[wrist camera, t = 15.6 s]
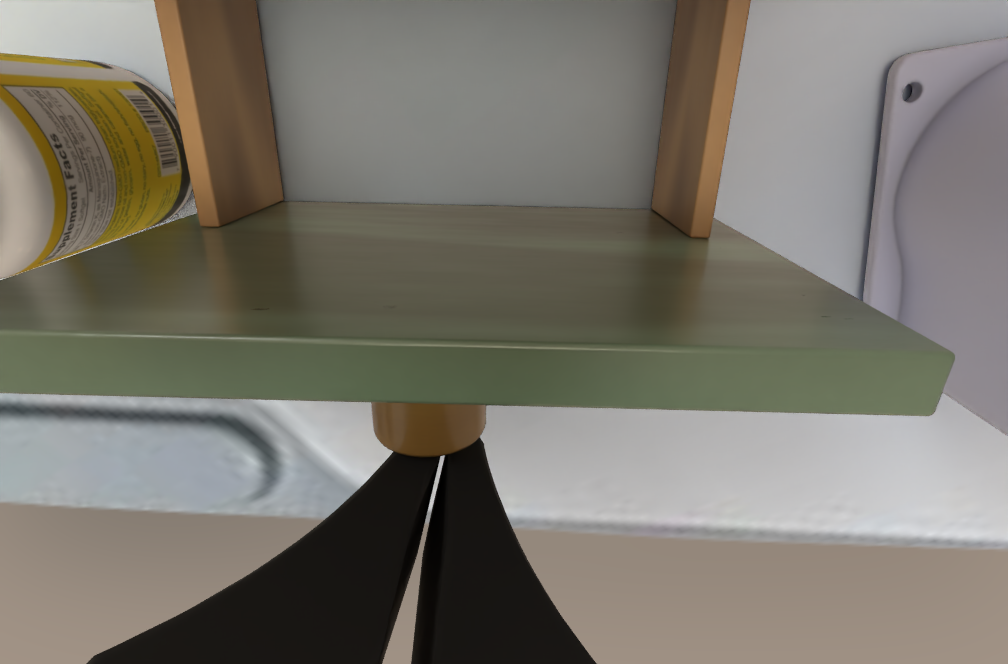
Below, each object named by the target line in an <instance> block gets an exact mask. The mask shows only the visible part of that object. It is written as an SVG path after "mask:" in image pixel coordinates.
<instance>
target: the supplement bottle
mask: <svg viewBox="0 0 1008 664" xmlns="http://www.w3.org/2000/svg"><path fill="white" fill-rule="evenodd" d="M191 191H192V183H191V178H190V173H189V169H188V164H187V159H186V154H185V149H184V144H183V139H182V134H181V129H180V124H179V120H178V115H177V110H176V109H175V108H174V106H173V105H172V104H171V103H170V102H169V100H168V99H167V98H166V97H165V96H164V95H163V94H162V93H161V92H160V91H159V90H157V89H156V88H155V87H154V86H153V85H151V84H150V83H149V82H147V81H146V80H144V79H142V78H141V77H139V76H137V75H135V74H134V73H132V72H129V71H127V70H125V69H122V68H119V67H117V66H113V65H110V64H105V63H100V62H93V61H86V60H72V59H61V58H50V57H38V56H28V55H16V54H4V53H0V279H2V278H6V277H10V276H13V275H16V274H19V273H22V272H25V271H28V270H31V269H33V268H36V267H39V266H42V265H44V264H47V263H50V262H53V261H55V260H58V259H61V258H64V257H67V256H69V255H72V254H75V253H78V252H81V251H84V250H86V249H89V248H92V247H95V246H98V245H101V244H104V243H106V242H109V241H112V240H115V239H118V238H120V237H123V236H126V235H129V234H132V233H135V232H137V231H140V230H143V229H145V228H148V227H151V226H154V225H157V224H159V223H161V222H164V221H165V220H167V219H169V218H171V217H172V216H173V215H175V214H176V213H177V212H178V211H179V210H180V209H181V208H182V207H183V206H184V204H185V203H186V201H187V200H188V198H189V196H190V194H191Z"/></svg>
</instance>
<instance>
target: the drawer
mask: <svg viewBox="0 0 1008 664" xmlns="http://www.w3.org/2000/svg"><path fill="white" fill-rule="evenodd" d="M154 2H155V7H156V12H157V17H158V22H159V27H160V32H161V36H162V41H163V46H164V51H165V56H166V61H167V66H168V71H169V76H170V80H171V85H172V90H173V95H174V100H175V105H176V110H177V115H178V120H179V124H180V129H181V134H182V139H183V144H184V149H185V154H186V159H187V164H188V169H189V173H190V178H191V183H192V188H193V193H194V198H195V203H196V208H197V213H196V214H193V215H190V216H187V217H184V218H181V219H179V220H176V221H173V222H170V223H167V224H164V225H161V226H158V227H155V228H152V229H149V230H146V231H143V232H140V233H138V234H135V235H132V236H129V237H126V238H123V239H120V240H117V241H114V242H111V243H108V244H105V245H102V246H99V247H97V248H94V249H91V250H88V251H85V252H82V253H79V254H76V255H73V256H70V257H67V258H64V259H61V260H59V261H56V262H53V263H50V264H47V265H44V266H41V267H38V268H35V269H32V270H29V271H26V272H23V273H20V274H18V275H15V276H12V277H9V278H6V279H3V280H0V393H19V394H60V395H100V396H140V397H180V398H221V399H261V400H301V401H341V402H371V404H372V415H373V426H374V432H375V435H376V437H377V438H378V440H379V441H380V442H381V443H382V444H383V445H384V446H385V447H387V448H388V449H390V450H392V451H394V452H397V453H399V454H403V455H407V456H413V457H436V456H443V455H448V454H451V453H455V452H457V451H460V450H462V449H464V448H466V447H468V446H470V445H471V444H473V443H474V442H475V441H476V440H477V439H478V438H479V437H480V435H481V434H482V432H483V430H484V428H485V424H486V405H503V406H543V407H583V408H623V409H664V410H704V411H744V412H784V413H825V414H865V415H905V416H930V415H932V414H933V413H934V412H935V410H936V407H937V404H938V402H939V399H940V397H941V394H942V392H943V389H944V386H945V384H946V381H947V379H948V376H949V374H950V371H951V369H952V366H953V363H954V361H955V354H954V353H953V352H951V351H950V350H948V349H946V348H944V347H943V346H941V345H939V344H937V343H935V342H934V341H932V340H930V339H928V338H927V337H925V336H923V335H921V334H919V333H918V332H916V331H914V330H912V329H911V328H909V327H907V326H905V325H903V324H902V323H900V322H898V321H896V320H895V319H893V318H891V317H889V316H887V315H886V314H884V313H882V312H880V311H879V310H877V309H875V308H873V307H871V306H870V305H868V304H866V303H864V302H863V301H861V300H859V299H857V298H855V297H854V296H852V295H850V294H848V293H847V292H845V291H843V290H841V289H839V288H838V287H836V286H834V285H832V284H831V283H829V282H827V281H825V280H823V279H822V278H820V277H818V276H816V275H815V274H813V273H811V272H809V271H807V270H806V269H804V268H802V267H800V266H798V265H797V264H795V263H793V262H791V261H790V260H788V259H786V258H784V257H782V256H781V255H779V254H777V253H775V252H774V251H772V250H770V249H768V248H766V247H765V246H763V245H761V244H759V243H758V242H756V241H754V240H752V239H750V238H749V237H747V236H745V235H743V234H742V233H740V232H738V231H736V230H734V229H733V228H731V227H729V226H727V225H726V224H724V223H722V222H720V221H718V220H717V219H715V218H713V217H714V211H715V205H716V199H717V193H718V188H719V182H720V176H721V170H722V164H723V159H724V153H725V147H726V141H727V135H728V130H729V124H730V118H731V112H732V106H733V100H734V95H735V89H736V83H737V77H738V71H739V66H740V60H741V54H742V48H743V42H744V37H745V31H746V25H747V19H748V13H749V8H750V2H751V0H677V8H676V15H675V23H674V31H673V39H672V47H671V55H670V63H669V71H668V79H667V87H666V95H665V103H664V111H663V119H662V127H661V135H660V143H659V150H658V158H657V166H656V174H655V182H654V190H653V198H652V206H651V208H652V209H612V208H567V207H522V206H477V205H432V204H387V203H342V202H297V201H283V200H284V198H283V191H282V183H281V176H280V169H279V162H278V155H277V148H276V141H275V134H274V126H273V119H272V112H271V105H270V98H269V91H268V84H267V76H266V69H265V62H264V55H263V48H262V41H261V34H260V26H259V19H258V12H257V5H256V0H154Z"/></svg>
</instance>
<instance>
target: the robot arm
mask: <svg viewBox="0 0 1008 664" xmlns="http://www.w3.org/2000/svg"><path fill="white" fill-rule="evenodd" d="M908 84H910V85H911V86H912V94H911V96H910V97H909V98H908V100H907V101H904V100H903V97H902V93H903V90H904V88H905V87H906V86H907V85H908ZM863 302H864V303H866V304H868V305H870V306H871V307H873V308H875V309H877V310H879V311H880V312H882V313H884V314H886V315H887V316H889V317H891V318H893V319H895V320H896V321H898V322H900V323H902V324H903V325H905V326H907V327H909V328H911V329H912V330H914V331H916V332H918V333H919V334H921V335H923V336H925V337H927V338H928V339H930V340H932V341H934V342H935V343H937V344H939V345H941V346H943V347H944V348H946V349H948V350H950V351H951V352H953V353H954V354H955V361H954V363H953V366H952V369H951V371H950V374H949V376H948V379H947V381H946V384H945V386H944V389H943V393H944V394H946V395H947V396H949V397H950V398H952V399H953V400H955V401H956V402H958V403H959V404H961V405H962V406H964V407H965V408H967V409H968V410H970V411H971V412H973V413H974V414H976V415H977V416H979V417H980V418H982V419H983V420H985V421H986V422H988V423H989V424H991V425H992V426H994V427H995V428H997V429H998V430H1000V431H1001V432H1003V433H1004V434H1005V435H1007V436H1008V37H1004V38H998V39H992V40H986V41H980V42H974V43H968V44H962V45H956V46H950V47H944V48H938V49H932V50H926V51H920V52H914V53H908V54H906V55H903V56H901V57H900V58H898V59H897V60H896V61H895V62H894V63H893V65H892V66H891V68H890V70H889V73H888V77H887V86H886V95H885V104H884V113H883V122H882V131H881V140H880V149H879V158H878V167H877V176H876V185H875V194H874V203H873V212H872V221H871V230H870V239H869V248H868V256H867V265H866V274H865V283H864V292H863ZM439 460H440V456H436V457H413V456H407V455H403V454H399V453H397V452H394V451H393V453H392V454H391V455H390V456H389V458H388V459H387V460H386V461H385V462H384V463H383V464H382V465H381V466H380V468H379V469H378V470H377V471H376V472H375V473H374V474H373V475H372V476H371V477H370V478H369V479H368V480H367V481H366V483H365V484H364V485H363V486H361V487H360V488H359V489H358V490H357V491H356V492H355V493H354V494H353V495H352V496H351V497H350V498H349V499H348V500H347V501H345V502H344V503H343V504H342V505H341V506H340V507H339V508H338V509H337V510H336V511H335V512H333V513H332V514H331V515H330V516H329V517H327V518H326V519H325V520H324V521H323V522H321V523H320V524H319V525H318V526H317V527H315V528H314V529H313V530H311V531H310V532H309V533H308V534H306V535H305V536H304V537H302V538H301V539H300V540H298V541H297V542H296V543H294V544H293V545H292V546H290V547H289V548H287V549H286V550H284V551H283V552H282V553H280V554H279V555H277V556H276V557H274V558H273V559H271V560H270V561H269V562H267V563H266V564H264V565H263V566H261V567H260V568H258V569H257V570H255V571H253V572H252V573H250V574H249V575H247V576H246V577H244V578H242V579H240V580H239V581H237V582H235V583H234V584H232V585H230V586H228V587H227V588H225V589H223V590H222V591H220V592H218V593H216V594H215V595H213V596H211V597H210V598H208V599H206V600H204V601H203V602H201V603H200V604H198V605H196V606H194V607H192V608H191V609H189V610H187V611H185V612H183V613H181V614H179V615H177V616H176V617H174V618H172V619H170V620H168V621H166V622H163V623H161V624H159V625H157V626H155V627H153V628H151V629H149V630H147V631H145V632H143V633H141V634H139V635H137V636H135V637H133V638H131V639H129V640H127V641H125V642H123V643H121V644H119V645H117V646H114V647H112V648H110V649H108V650H106V651H104V652H102V653H99V654H97V655H95V656H94V657H93V658H92V659H91V660H90V661H89V662H88V663H87V664H382V662H383V659H384V655H385V653H386V649H387V646H388V643H389V640H390V637H391V634H392V631H393V628H394V625H395V621H396V619H397V615H398V612H399V609H400V606H401V603H402V600H403V596H404V594H405V591H406V587H407V584H408V581H409V578H410V575H411V572H412V569H413V565H414V563H415V559H416V556H417V553H418V549H419V545H420V540H421V536H422V532H423V528H424V524H425V519H426V515H427V511H428V507H429V502H430V498H431V494H432V490H433V485H434V481H435V477H436V473H437V468H438V464H439ZM411 664H596V662H595V661H594V660H593V659H592V657H591V656H590V655H589V653H588V652H587V651H586V649H585V648H584V646H583V645H582V644H581V642H580V641H579V640H578V638H577V637H576V636H575V634H574V633H573V632H572V630H571V629H570V627H569V626H568V625H567V623H566V622H565V621H564V619H563V618H562V616H561V615H560V613H559V612H558V610H557V609H556V607H555V605H554V604H553V602H552V601H551V599H550V598H549V596H548V594H547V593H546V591H545V590H544V588H543V586H542V585H541V583H540V581H539V579H538V578H537V576H536V574H535V573H534V571H533V569H532V567H531V565H530V563H529V562H528V560H527V558H526V556H525V554H524V552H523V550H522V548H521V546H520V544H519V542H518V540H517V538H516V535H515V533H514V531H513V529H512V527H511V524H510V522H509V520H508V518H507V515H506V513H505V510H504V508H503V505H502V502H501V500H500V497H499V495H498V492H497V489H496V487H495V484H494V481H493V478H492V474H491V471H490V468H489V465H488V461H487V457H486V453H485V448H484V443H483V442H482V440H481V438H478V439H477V440H476V441H475V442H474V443H473V444H471V445H470V446H468V447H466V448H464V449H462V450H460V451H457V452H455V453H451V454H448V455H445V458H444V462H443V466H442V471H441V475H440V479H439V483H438V487H437V491H436V496H435V500H434V504H433V508H432V513H431V518H430V522H429V527H428V532H427V537H426V542H425V546H424V551H423V557H422V567H421V576H420V585H419V595H418V604H417V614H416V624H415V633H414V642H413V652H412V662H411Z"/></svg>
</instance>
